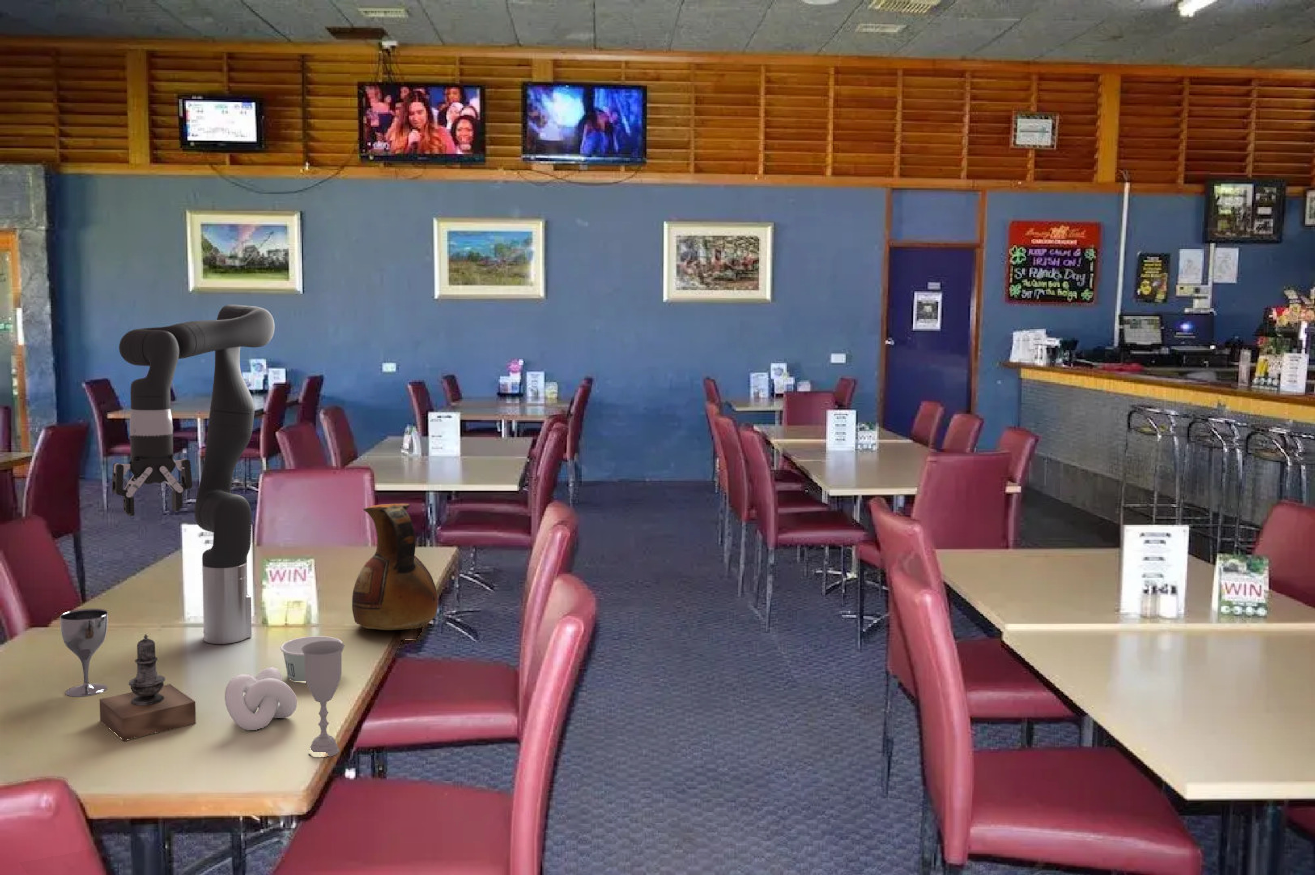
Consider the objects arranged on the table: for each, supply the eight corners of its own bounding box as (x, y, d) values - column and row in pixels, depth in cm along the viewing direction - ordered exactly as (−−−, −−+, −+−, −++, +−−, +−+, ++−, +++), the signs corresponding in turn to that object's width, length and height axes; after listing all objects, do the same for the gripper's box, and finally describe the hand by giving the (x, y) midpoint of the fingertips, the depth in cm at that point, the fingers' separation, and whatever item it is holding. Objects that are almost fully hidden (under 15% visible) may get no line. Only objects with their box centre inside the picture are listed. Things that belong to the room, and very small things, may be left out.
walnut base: (170, 704, 190) (169, 684, 189) (195, 723, 181) (195, 701, 181) (100, 721, 181) (99, 699, 181) (123, 741, 173) (122, 718, 172)
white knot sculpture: (250, 742, 174) (250, 691, 173) (207, 726, 180) (206, 677, 180) (305, 721, 184) (304, 673, 183) (262, 707, 190) (261, 660, 189)
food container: (354, 676, 208) (354, 645, 207) (298, 690, 199) (298, 658, 198) (324, 662, 216) (324, 632, 215) (269, 675, 207) (269, 644, 206)
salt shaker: (151, 707, 178) (149, 640, 176) (121, 704, 179) (119, 638, 177) (173, 695, 183) (171, 631, 182) (143, 693, 184) (141, 628, 183)
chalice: (308, 743, 174) (307, 640, 172) (349, 742, 175) (348, 640, 173) (297, 761, 167) (296, 654, 165) (339, 760, 168) (339, 654, 166)
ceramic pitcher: (411, 611, 255) (411, 493, 252) (453, 630, 240) (454, 505, 237) (337, 625, 242) (336, 501, 239) (377, 646, 227) (377, 514, 224)
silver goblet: (61, 700, 190) (58, 622, 189) (63, 686, 198) (61, 611, 196) (109, 694, 194) (107, 617, 193) (110, 680, 201) (108, 606, 200)
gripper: (181, 428, 208) (183, 507, 209) (105, 432, 197) (108, 514, 199) (196, 431, 202) (197, 512, 204) (118, 435, 192) (121, 520, 194)
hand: (153, 513), depth 202 cm, fingers open, 8 cm apart
